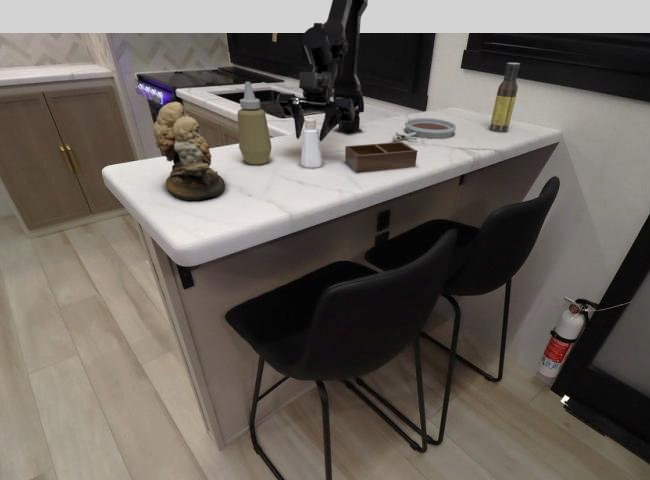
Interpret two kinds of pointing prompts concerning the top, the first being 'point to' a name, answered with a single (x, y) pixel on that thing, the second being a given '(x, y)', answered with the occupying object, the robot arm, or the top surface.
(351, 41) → the robot arm
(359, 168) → the divided wooden tray
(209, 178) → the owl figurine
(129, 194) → the top surface
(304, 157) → the pepper shaker
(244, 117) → the squeeze bottle
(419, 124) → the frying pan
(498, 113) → the sauce bottle
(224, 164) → the top surface
